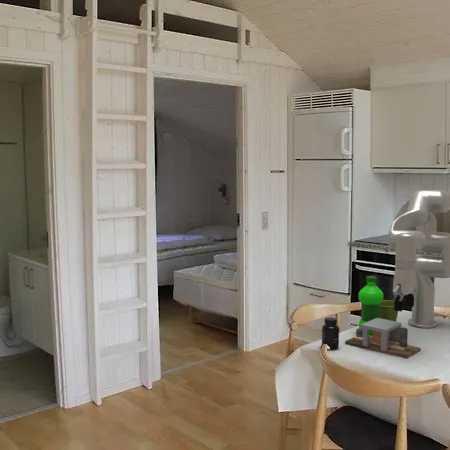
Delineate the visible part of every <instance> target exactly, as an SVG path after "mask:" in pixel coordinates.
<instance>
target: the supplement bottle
mask: <svg viewBox="0 0 450 450" xmlns="http://www.w3.org/2000/svg"><path fill="white" fill-rule="evenodd" d="M337 320H338V319H337V318H335V317H331V316H330V317H325V318H324V322H323V325H321V346H322V345H323V344H327V345H328V346H329V347H330V349H331V350H330V351H336V350H338V349H339V345H340V342H339V341H340V327H339V325H337V324H338V321H337Z"/></svg>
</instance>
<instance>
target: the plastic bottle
mask: <svg viewBox="0 0 450 450" xmlns="http://www.w3.org/2000/svg"><path fill="white" fill-rule="evenodd" d="M365 282H366V283H367V284H366V285H365V286H364V287H362V288H361V289H360V290H359V292H358V301H359V302H360V307H361V309H360V320H359V322H358V328H361V324H364V323H366V322H368V321H371V320H373V319H375V318H380V303H381V302H382V301H383V300H384V295H385V294H384V292H383V291H382V290H381V289H380V288H379V287H378V286H377V285H376V282H377V276H374V275H367V276H366V277H365ZM362 329H363V328H362ZM370 336H372V337H373V330H370Z"/></svg>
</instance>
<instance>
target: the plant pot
mask: <svg viewBox="0 0 450 450" xmlns="http://www.w3.org/2000/svg"><path fill="white" fill-rule="evenodd" d="M398 315H399V311H395V310H394V300H390V299H389V300H388V299H387V300H386V299H383V301H382V302H381V303H380V319H386V320H391V321H396V322H397V319H398Z"/></svg>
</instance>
